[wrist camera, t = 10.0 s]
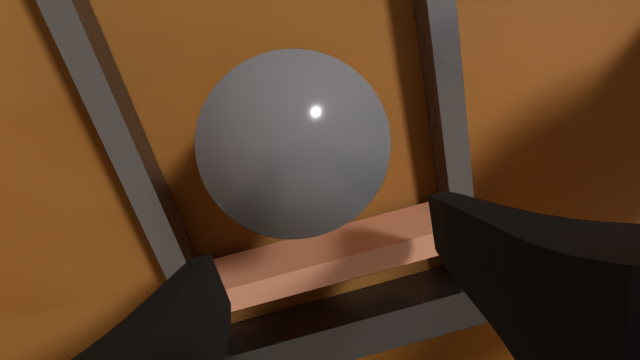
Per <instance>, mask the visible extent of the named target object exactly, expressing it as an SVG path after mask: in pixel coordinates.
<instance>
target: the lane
mask: <svg viewBox="0 0 640 360" xmlns="http://www.w3.org/2000/svg"><path fill="white" fill-rule="evenodd" d="M36 2H37V4H38V6H39V9H40V11H41V13H42V15H43V17H44V19H45V21H46V23H47V26H48V28H49V30H50V32H51V34H52V36H53V38H54V41H55V43H56V45H57V47H58V49H59V51H60V53H61V55H62V58H63V60H64V62H65V64H66V66H67V68H68V70H69V72H70V75H71V77H72V79H73V81H74V83H75V85H76V87H77V89H78V92H79V94H80V96H81V98H82V100H83V102H84V104H85V107H86V109H87V111H88V113H89V115H90V117H91V119H92V121H93V124H94V126H95V128H96V130H97V132H98V134H99V136H100V138H101V141H102V143H103V145H104V147H105V149H106V151H107V153H108V155H109V158H110V160H111V162H112V164H113V166H114V168H115V170H116V173H117V175H118V177H119V179H120V181H121V183H122V185H123V187H124V190H125V192H126V194H127V196H128V198H129V200H130V202H131V204H132V207H133V209H134V211H135V213H136V215H137V217H138V219H139V222H140V224H141V226H142V228H143V230H144V232H145V234H146V236H147V239H148V241H149V243H150V245H151V247H152V249H153V251H154V253H155V256H156V258H157V260H158V262H159V264H160V266H161V268H162V270H163V273H164V275H165V277H166V279H167V280H168V279H169V278H170V277H171V276H172V275H173V274H174V273H175V272H176V271H177V270H178V269H180V268H181V267H182V266H183V265H184V264H185V263H186V262H188V261H189V260H190V259H192V258H195V257H197V256H196V253H195V251H194V249H193V246H192V244H191V242H190V239H189V237H188V234H187V232H186V230H185V227H184V225H183V223H182V220H181V218H180V215H179V213H178V211H177V208H176V206H175V204H174V201H173V199H172V197H171V194H170V192H169V189H168V187H167V185H166V182H165V180H164V178H163V175H162V173H161V170H160V168H159V166H158V163H157V161H156V159H155V156H154V154H153V151H152V149H151V147H150V144H149V142H148V140H147V137H146V135H145V132H144V130H143V128H142V125H141V123H140V121H139V118H138V116H137V114H136V111H135V109H134V106H133V104H132V102H131V99H130V97H129V95H128V92H127V90H126V87H125V85H124V83H123V80H122V78H121V76H120V73H119V71H118V68H117V66H116V64H115V61H114V59H113V57H112V54H111V52H110V50H109V47H108V45H107V42H106V40H105V38H104V35H103V33H102V31H101V28H100V26H99V23H98V21H97V19H96V16H95V14H94V12H93V9H92V7H91V4H90V2H89V0H36ZM414 7H415V15H416V23H417V30H418V38H419V46H420V53H421V61H422V69H423V77H424V84H425V92H426V100H427V107H428V115H429V123H430V130H431V138H432V146H433V154H434V161H435V169H436V177H437V184H438V192H439V193H440V192H444V191H450V192H455V193H459V194H463V195H466V196H470V197H474V191H473V180H472V170H471V159H470V148H469V137H468V126H467V115H466V104H465V93H464V82H463V71H462V60H461V50H460V39H459V28H458V17H457V6H456V0H414ZM487 322H488V321H487V320H486V318H485V317H484V316H483V315H482V313H481V312H480V311H479V310H478V308H477V307H476V306H475V305H474V304H473V302H472V301H471V300H470V299H469V297H468V296H467V295H466V294H465V292H464V291H463V290H462V289H461V287H460V286H459V285H458V284H457V282H456V281H455V280H454V279H453V277H452V276H451V275H450V273H449V272H448V270H447V269H446V267H445V266H443V267H439V268H436V269H432V270H428V271H425V272H421V273H417V274H414V275H410V276H406V277H403V278H399V279H395V280H392V281H388V282H384V283H381V284H377V285H373V286H370V287H366V288H362V289H359V290H355V291H351V292H348V293H344V294H340V295H337V296H333V297H329V298H326V299H322V300H318V301H315V302H311V303H307V304H304V305H300V306H296V307H293V308H289V309H286V310H282V311H278V312H275V313H271V314H267V315H264V316H260V317H256V318H253V319H249V320H245V321H242V322H238V323H234V324H231V325H230V334H229V340H228V346H227V351H226V356H225V360H354V359H358V358H361V357H365V356H369V355H372V354H376V353H379V352H383V351H387V350H390V349H394V348H397V347H401V346H405V345H408V344H412V343H415V342H419V341H423V340H426V339H430V338H433V337H437V336H441V335H444V334H448V333H451V332H455V331H459V330H462V329H466V328H469V327H473V326H477V325H480V324H484V323H487Z"/></svg>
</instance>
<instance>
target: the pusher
mask: <svg viewBox="0 0 640 360" xmlns="http://www.w3.org/2000/svg"><path fill="white" fill-rule="evenodd" d="M435 256H439V255H438V253H437V252H436V250H435V245H434V238H433V231H432V224H431V216H430V209H429V202H425V203H422V204H418V205H414V206H410V207H407V208H403V209H399V210H395V211H392V212H388V213H384V214H380V215H377V216H373V217H369V218H366V219H362V220H358V221H354V222H351V223H347V224H345V225H343V226H342V227H340V228H338V229H336V230H334V231H331V232H329V233H327V234H323V235H320V236H316V237H312V238H306V239H287V240H284V241H280V242H276V243H272V244H269V245H265V246H261V247H257V248H254V249H250V250H246V251H243V252H239V253H235V254H231V255H228V256H224V257H220V258H216V259H213V260H214V263H215V265H216V268H217V270H218V273H219V275H220V278H221V280H222V282H223V285H224V287H225V290H226V292H227V295H228V297H229V300H230V302H231V312H233V311H236V310H240V309H244V308H248V307H251V306H255V305H259V304H262V303H266V302H270V301H273V300H277V299H281V298H284V297H288V296H292V295H295V294H299V293H303V292H306V291H310V290H314V289H317V288H321V287H325V286H328V285H332V284H336V283H339V282H343V281H347V280H350V279H354V278H358V277H361V276H365V275H369V274H372V273H376V272H380V271H383V270H387V269H391V268H395V267H398V266H402V265H406V264H409V263H413V262H417V261H420V260H424V259H428V258H431V257H435Z"/></svg>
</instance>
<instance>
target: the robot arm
mask: <svg viewBox="0 0 640 360" xmlns="http://www.w3.org/2000/svg"><path fill="white" fill-rule="evenodd" d="M428 202H429V209H430V216H431V224H432V231H433V238H434V245H435V250H436V252H437V253H438V255H439V257H440V259H441V260H442V262H443V264H444V265H445V267H446V269H447V270H448V272H449V273H450V275H451V276H452V277H453V279H454V280H455V281H456V282H457V284H458V285H459V286H460V287H461V289H462V290H463V291H464V292H465V294H466V295H467V296H468V297H469V299H470V300H471V301H472V302H473V304H474V305H475V306H476V307H477V308H478V310H479V311H480V312H481V313H482V315H483V316H484V317H485V318H486V320H487V321H488V322H489V323H490V324H491V326H492V327H493V328H494V330H495V331H496V332H497V334H498V335H499V336H500V338H501V339H502V341H503V342H504V344H505V345H506V347H507V348H508V350H509V351H510V353H511V354H512V356H513V357H514V359H515V360H640V224H630V223H613V222H600V221H588V220H579V219H571V218H564V217H557V216H550V215H544V214H539V213H534V212H529V211H525V210H520V209H515V208H511V207H507V206H503V205H499V204H495V203H492V202H488V201H484V200H481V199H477V198H474V197H470V196H466V195H463V194H459V193H455V192H450V191H444V192H440V193H436V194H432V195H429V196H428ZM230 322H231V302H230V300H229V297H228V295H227V292H226V290H225V287H224V285H223V282H222V280H221V278H220V275H219V273H218V270H217V268H216V265H215V263H214V260H213V258H212V255H211V253H210V254H206V255H202V256H198V257H195V258H192V259H190V260H189V261H188V262H186V263H185V264H184V265H183V266H182V267H181V268H180V269H178V270H177V271H176V272H175V273H174V274H173V275H172V276H171V277H170V278H169V279H168V280H167V281H166V282H165V283H164V284H163V285H162V286H161V287H159V288H158V289H157V290H156V291H155V292H154V293H153V294H152V295H151V296H150V297H149V298H148V299H147V300H146V301H144V302H143V303H142V304H141V305H140V306H139V307H138V308H137V309H135V310H134V311H133V312H132V313H131V314H130V315H129V316H127V317H126V318H125V319H124V320H123V321H122V322H121V323H119V324H118V325H117V326H116V327H114V328H113V329H112V330H111V331H109V332H108V333H107V334H106V335H104V336H103V337H102V338H100V339H99V340H98V341H96V342H95V343H94V344H92V345H91V346H90V347H88V348H87V349H86V350H84V351H83V352H81V353H80V354H79V355H77V356H76V357H74V358H73V359H71V360H225V356H226V351H227V346H228V340H229V334H230Z"/></svg>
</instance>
